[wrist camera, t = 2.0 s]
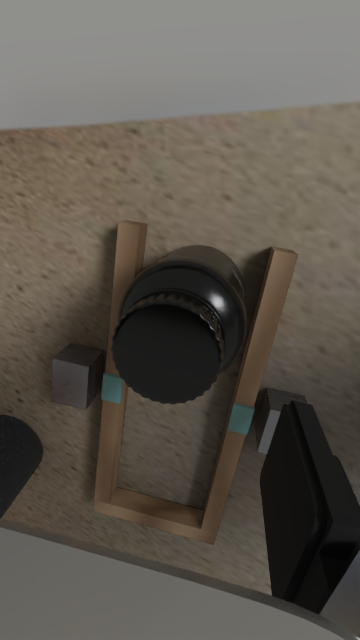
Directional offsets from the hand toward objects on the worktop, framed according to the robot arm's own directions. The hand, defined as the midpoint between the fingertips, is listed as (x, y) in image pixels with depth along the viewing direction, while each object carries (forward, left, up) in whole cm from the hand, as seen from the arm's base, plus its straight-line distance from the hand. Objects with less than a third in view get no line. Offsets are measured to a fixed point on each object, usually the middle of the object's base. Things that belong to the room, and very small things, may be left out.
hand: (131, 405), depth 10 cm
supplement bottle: (0, 0, -16) cm, 16 cm away
